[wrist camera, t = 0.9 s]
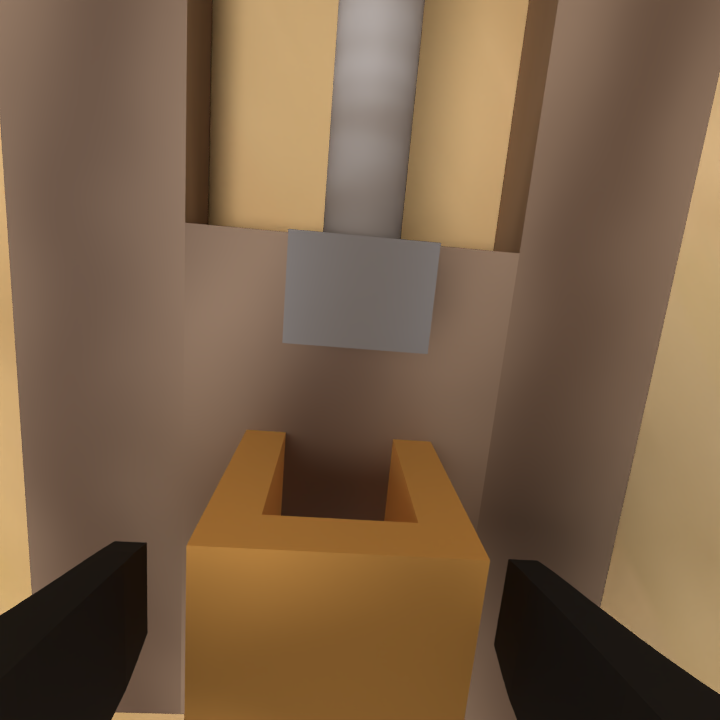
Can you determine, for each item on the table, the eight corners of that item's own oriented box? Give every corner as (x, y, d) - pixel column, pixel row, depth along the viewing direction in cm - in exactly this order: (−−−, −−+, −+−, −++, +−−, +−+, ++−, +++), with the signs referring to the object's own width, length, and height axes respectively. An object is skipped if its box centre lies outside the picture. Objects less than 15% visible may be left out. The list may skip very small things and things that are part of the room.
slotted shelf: (711, -147, 12) (1087, -552, 6) (546, 669, 17) (659, 893, 11) (35, -249, 11) (-333, -864, 5) (76, 653, 16) (-79, 890, 10)
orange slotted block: (430, 441, 13) (489, 560, 8) (413, 575, 13) (457, 758, 8) (246, 429, 12) (186, 545, 7) (241, 567, 13) (183, 752, 8)
